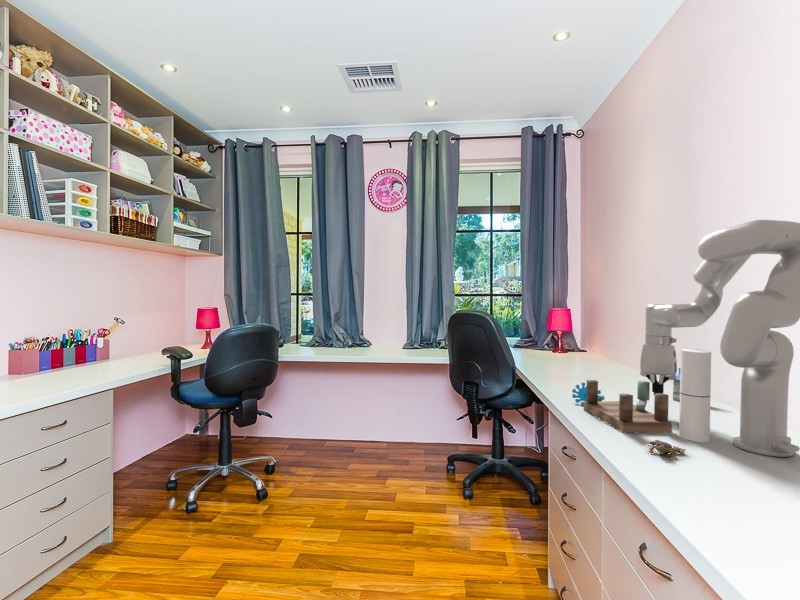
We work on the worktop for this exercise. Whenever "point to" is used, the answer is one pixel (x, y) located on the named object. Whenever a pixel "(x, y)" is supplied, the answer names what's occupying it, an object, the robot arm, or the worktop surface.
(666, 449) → the frog figurine
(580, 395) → the blue spiky piece
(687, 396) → the cylindrical container
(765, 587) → the worktop surface
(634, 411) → the stool seat
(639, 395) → the swing leg
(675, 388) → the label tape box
